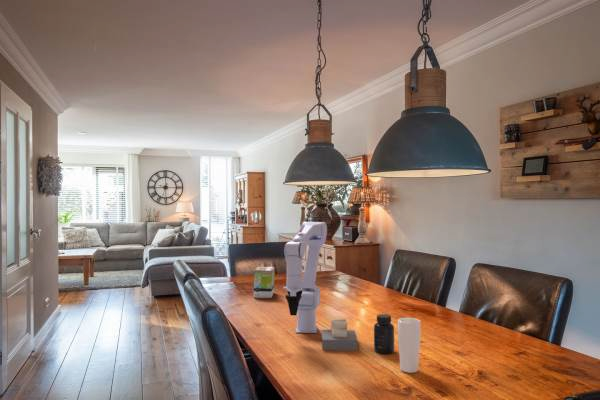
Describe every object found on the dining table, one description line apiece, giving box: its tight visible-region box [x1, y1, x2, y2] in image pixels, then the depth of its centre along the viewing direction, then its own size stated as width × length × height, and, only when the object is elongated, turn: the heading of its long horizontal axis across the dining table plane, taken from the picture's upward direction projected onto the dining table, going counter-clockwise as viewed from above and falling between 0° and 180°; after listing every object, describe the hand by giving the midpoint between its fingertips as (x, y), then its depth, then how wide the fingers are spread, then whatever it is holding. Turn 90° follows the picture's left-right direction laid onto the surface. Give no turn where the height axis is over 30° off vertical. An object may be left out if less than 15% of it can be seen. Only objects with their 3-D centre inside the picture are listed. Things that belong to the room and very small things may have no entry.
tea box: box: [253, 266, 276, 299], centre depth 242 cm, size 15×10×15 cm, turn 179°
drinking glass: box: [397, 317, 422, 374], centre depth 134 cm, size 7×7×15 cm
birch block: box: [330, 318, 348, 337], centre depth 157 cm, size 5×5×5 cm
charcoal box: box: [321, 329, 359, 352], centre depth 157 cm, size 12×12×4 cm
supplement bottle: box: [373, 313, 395, 355], centre depth 151 cm, size 7×7×12 cm
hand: (294, 312), depth 161 cm, fingers open, 7 cm apart
